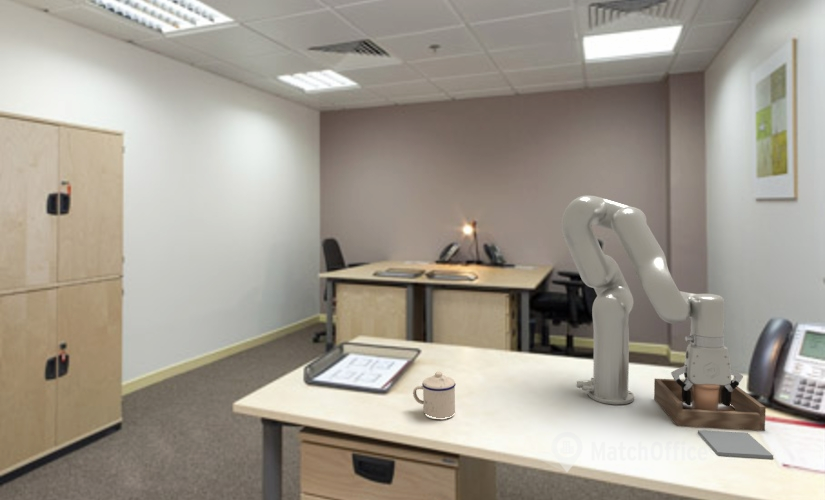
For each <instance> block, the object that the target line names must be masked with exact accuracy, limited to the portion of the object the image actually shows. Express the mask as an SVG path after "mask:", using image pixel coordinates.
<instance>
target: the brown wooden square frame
mask: <svg viewBox="0 0 825 500" xmlns="http://www.w3.org/2000/svg"><path fill="white" fill-rule="evenodd" d="M680 380H681V381H683V380H684V379H681V378H680ZM653 386H654V389H653V390H654V392H653V393H654V394H653V395H654V396H653V399H654V400H655V402H656V403H657V404H658V405H659V406H660V407H661V409H662V410H663V412H665V413H666V415H667V416H668V417H669V419H671V421H672V422H673V423H674V425H676V426H677V427H687V428H689V427H692V428H707V429H709V428H710V429H725V430H726V429H727V430H747V431H763V432H764V431H766V412H767V411H766V409H767V408H766V406H765V405H764V404H763V403H761V402H759V400H757V399H755V398H754V397H752V396H751V395H750V394H749V393H747V392H746V391H744V390H743V389H742V388H740V387H739V385H738V386H737V387H736V388H735V389H733V392H731V402H730V404H731V405H733V406H734V407H735V410H734V411H733V410H731V411H728V410H718V411H712V410H692V408H691V409H687V408H685V409H684V407H683V406H684V405H683V402H684V401H683V400H682V387H681V386H680V385H679V384H678V383H677V382H676V381H675V380H674V378H654V385H653ZM722 388H723V386H721V388H720V389H719V404H723V403H722V402H721V389H722ZM689 390H690V391H691V403H692V391H693V385H692V386H691V387H690V388H689ZM684 403H685V402H684Z"/></svg>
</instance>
